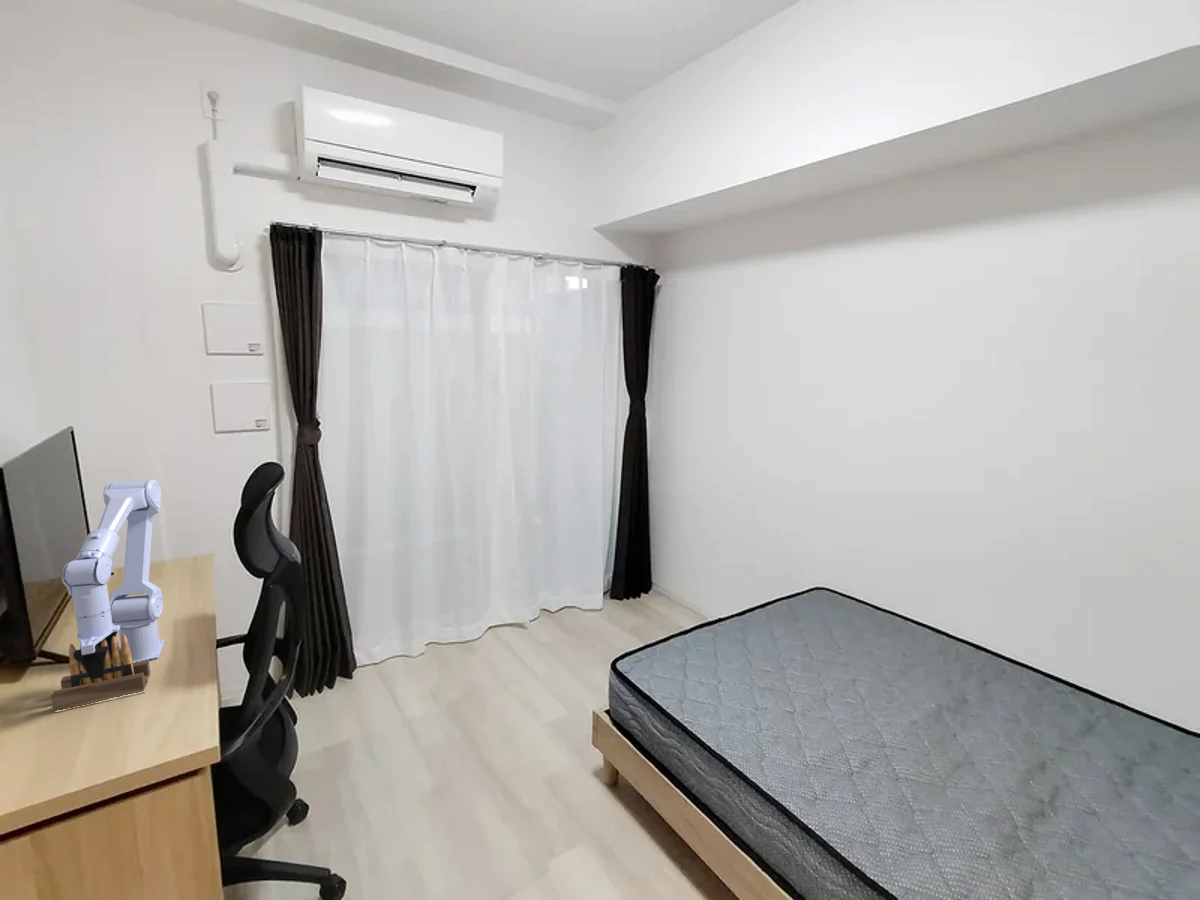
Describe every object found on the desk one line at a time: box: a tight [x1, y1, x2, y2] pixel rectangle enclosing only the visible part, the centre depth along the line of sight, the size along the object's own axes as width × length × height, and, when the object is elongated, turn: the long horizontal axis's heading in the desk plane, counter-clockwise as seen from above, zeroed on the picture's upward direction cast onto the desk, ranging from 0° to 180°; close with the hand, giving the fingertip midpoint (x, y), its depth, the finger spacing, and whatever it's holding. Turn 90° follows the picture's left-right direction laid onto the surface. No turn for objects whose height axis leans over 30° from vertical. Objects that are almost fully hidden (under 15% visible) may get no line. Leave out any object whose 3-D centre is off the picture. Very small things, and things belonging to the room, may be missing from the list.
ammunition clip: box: [68, 634, 135, 687], centre depth 126 cm, size 11×2×12 cm, turn 120°
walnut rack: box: [51, 660, 151, 712], centre depth 127 cm, size 8×15×4 cm, turn 120°
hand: (101, 669), depth 126 cm, fingers open, 7 cm apart
